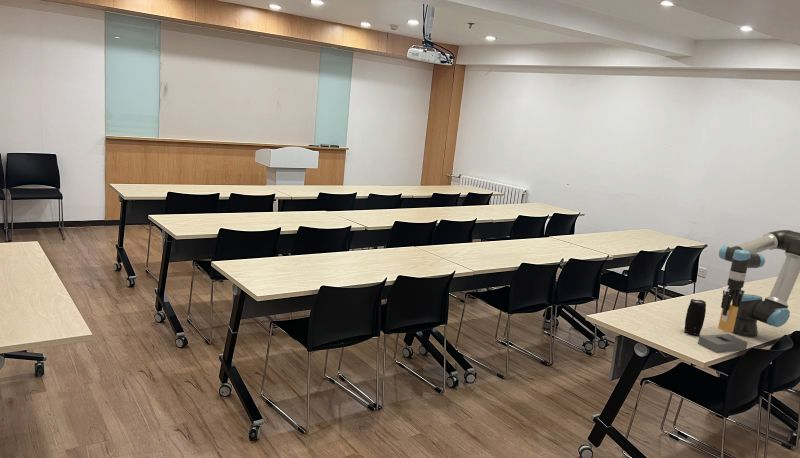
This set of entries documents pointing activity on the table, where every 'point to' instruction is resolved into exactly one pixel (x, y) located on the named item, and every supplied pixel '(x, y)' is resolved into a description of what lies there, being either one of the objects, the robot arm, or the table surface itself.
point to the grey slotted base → (722, 343)
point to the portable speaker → (695, 317)
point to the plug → (730, 322)
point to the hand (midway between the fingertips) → (727, 320)
